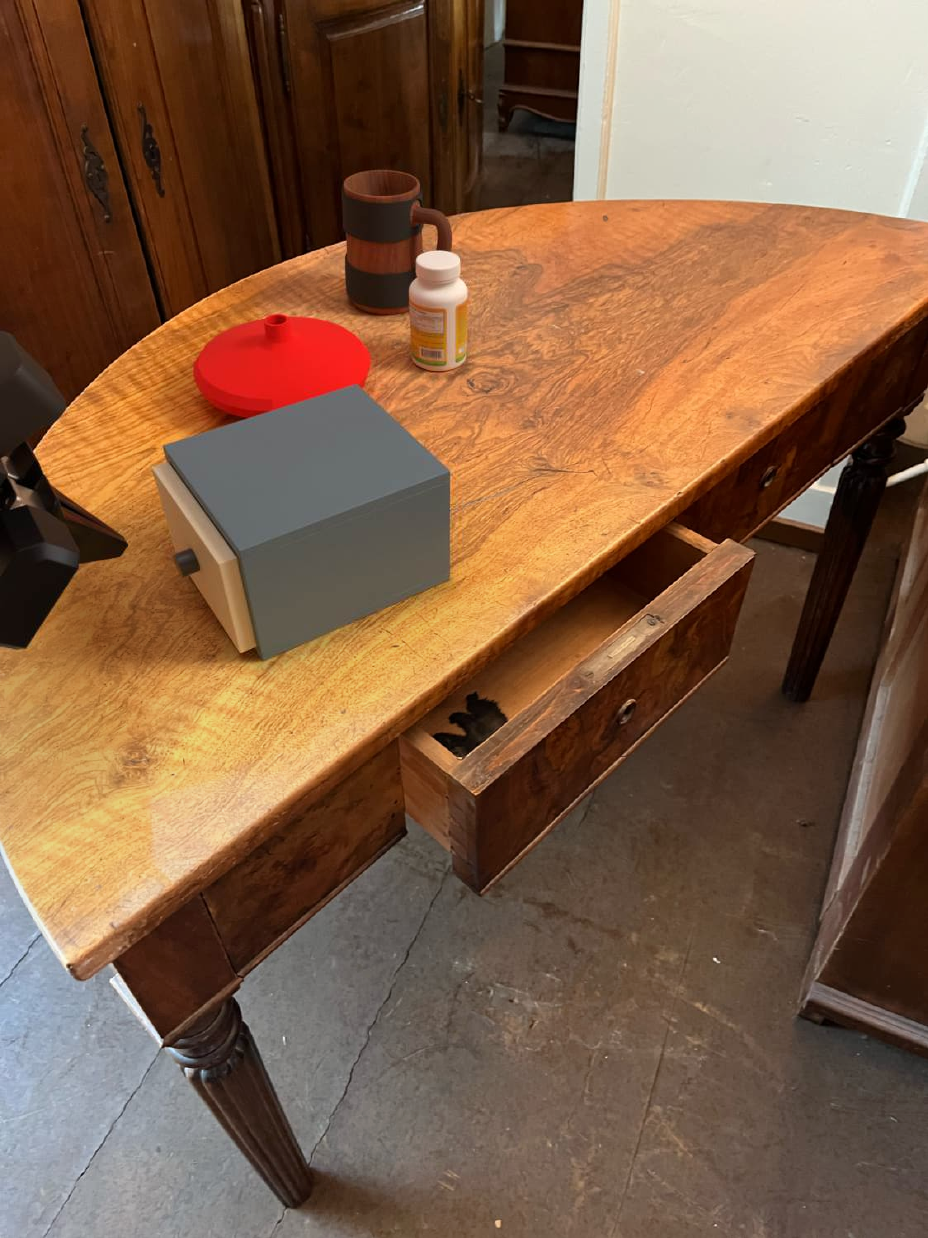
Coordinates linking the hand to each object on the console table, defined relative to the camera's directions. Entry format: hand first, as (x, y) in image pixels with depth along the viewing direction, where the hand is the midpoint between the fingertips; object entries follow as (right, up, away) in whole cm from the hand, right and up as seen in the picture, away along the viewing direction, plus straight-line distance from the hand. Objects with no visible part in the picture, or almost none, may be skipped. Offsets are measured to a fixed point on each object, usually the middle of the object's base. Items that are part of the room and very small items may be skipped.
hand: (123, 547), depth 54 cm
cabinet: (+10, -1, +11) cm, 15 cm away
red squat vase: (+5, +16, +27) cm, 32 cm away
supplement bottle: (+18, +21, +32) cm, 42 cm away
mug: (+14, +29, +40) cm, 52 cm away
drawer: (+8, -1, +9) cm, 12 cm away
